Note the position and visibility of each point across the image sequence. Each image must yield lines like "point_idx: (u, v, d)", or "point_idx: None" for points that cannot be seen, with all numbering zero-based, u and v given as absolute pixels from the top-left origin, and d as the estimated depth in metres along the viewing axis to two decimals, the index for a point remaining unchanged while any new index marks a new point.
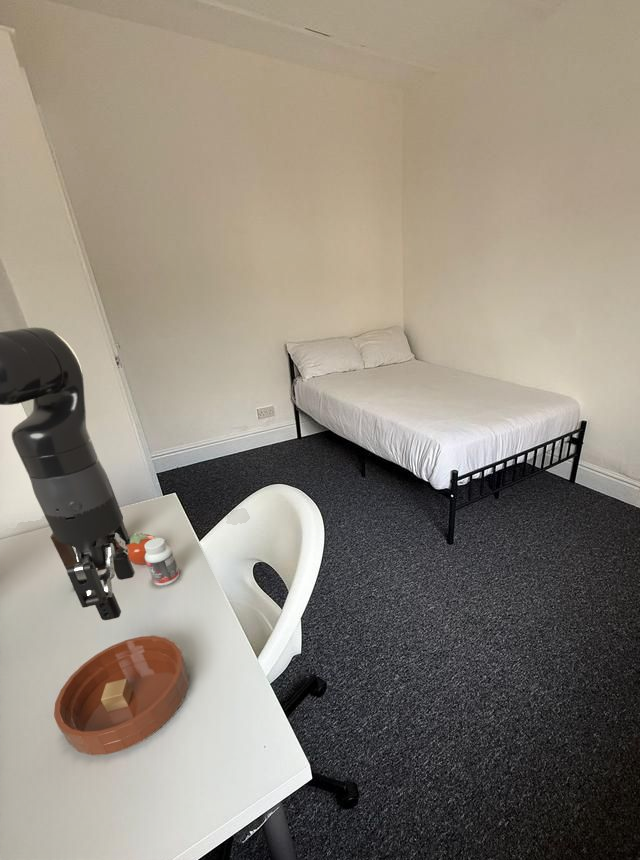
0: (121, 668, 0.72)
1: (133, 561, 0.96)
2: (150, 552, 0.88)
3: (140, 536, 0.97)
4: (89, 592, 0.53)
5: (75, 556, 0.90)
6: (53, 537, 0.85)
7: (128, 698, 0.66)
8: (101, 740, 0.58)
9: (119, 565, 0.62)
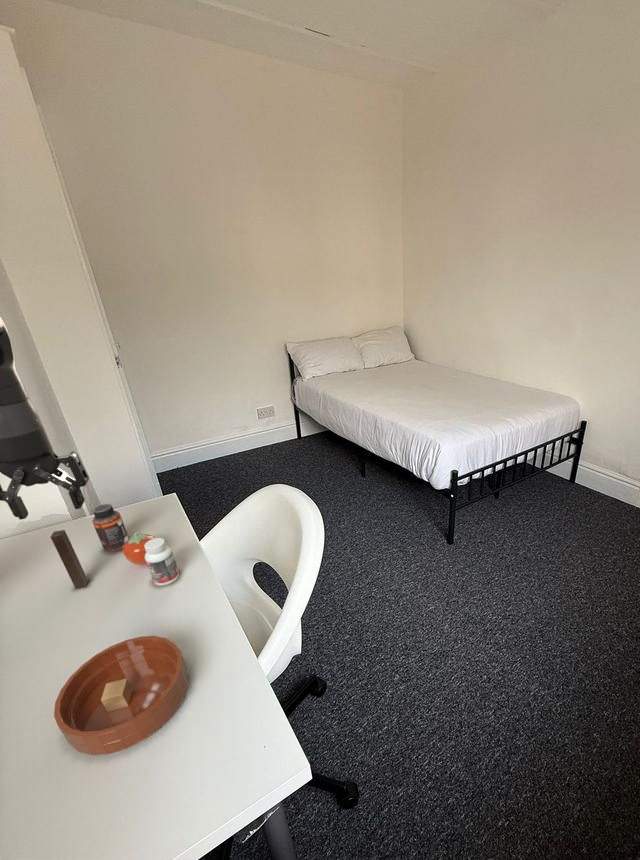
0: (121, 668, 0.72)
1: (133, 561, 0.96)
2: (150, 552, 0.88)
3: (140, 536, 0.97)
4: None
5: (75, 556, 0.90)
6: (53, 537, 0.85)
7: (128, 698, 0.66)
8: (101, 740, 0.58)
9: None
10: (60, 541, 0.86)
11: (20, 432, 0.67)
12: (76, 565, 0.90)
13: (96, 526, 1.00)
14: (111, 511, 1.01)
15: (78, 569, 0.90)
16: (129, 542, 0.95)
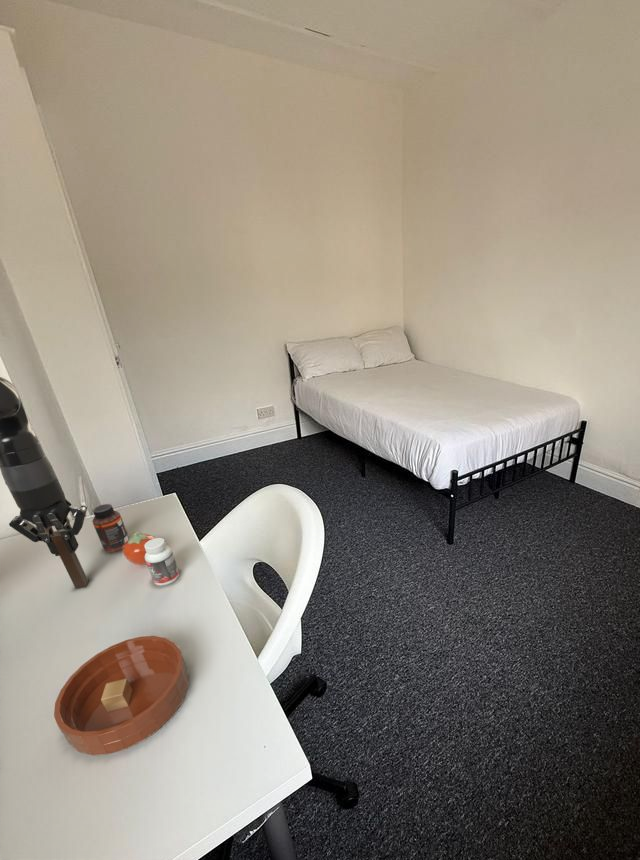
0: (121, 668, 0.72)
1: (133, 561, 0.96)
2: (150, 552, 0.88)
3: (140, 536, 0.97)
4: None
5: (75, 556, 0.90)
6: (53, 537, 0.85)
7: (128, 698, 0.66)
8: (101, 740, 0.58)
9: None
10: (60, 541, 0.86)
11: (36, 485, 0.78)
12: (76, 565, 0.90)
13: (96, 526, 1.00)
14: (111, 511, 1.01)
15: (78, 569, 0.90)
16: (129, 542, 0.95)
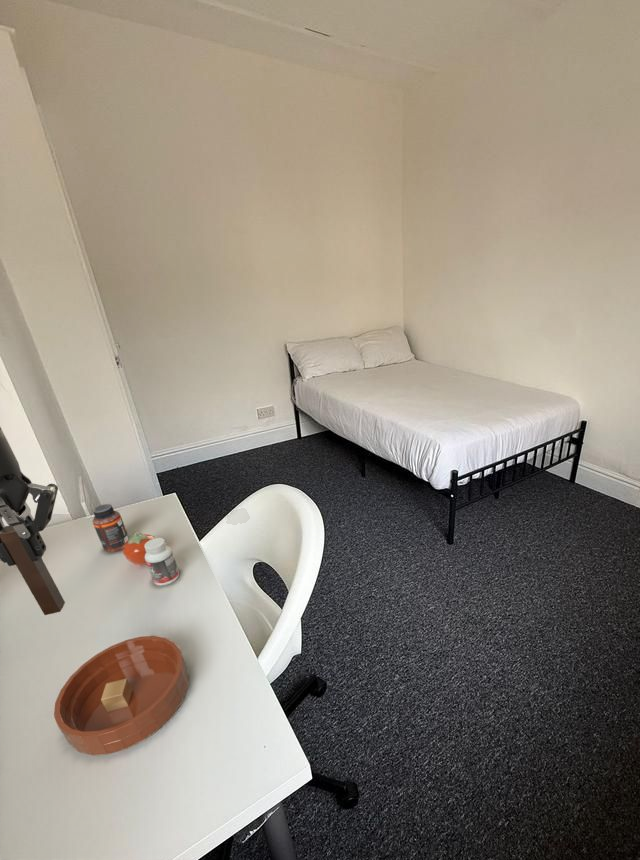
0: (121, 668, 0.72)
1: (133, 561, 0.96)
2: (150, 552, 0.88)
3: (140, 536, 0.97)
4: None
5: (42, 565, 0.57)
6: (3, 535, 0.53)
7: (128, 698, 0.66)
8: (101, 740, 0.58)
9: None
10: (15, 541, 0.54)
11: None
12: (44, 579, 0.57)
13: (96, 526, 1.00)
14: (111, 511, 1.01)
15: (47, 585, 0.57)
16: (129, 542, 0.95)
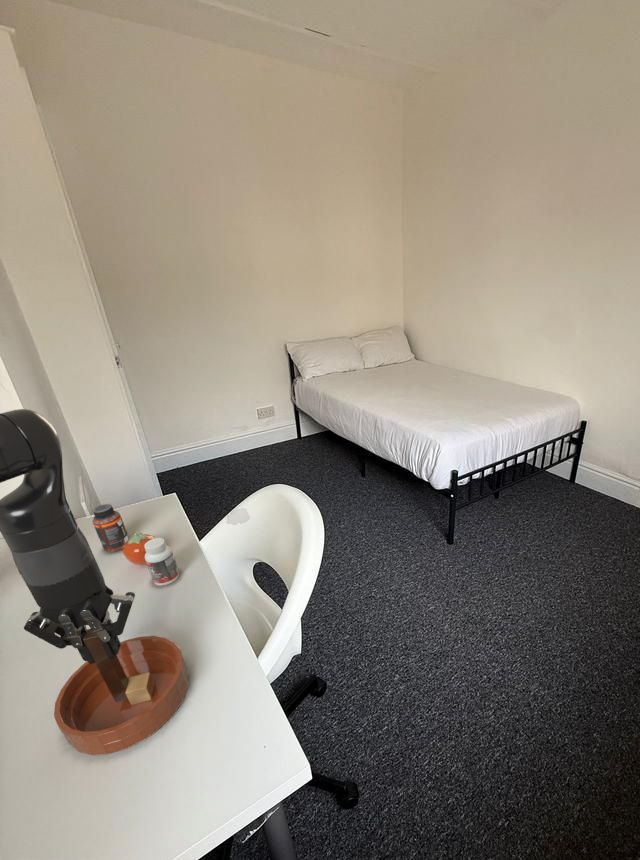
0: None
1: (133, 561, 0.96)
2: (150, 552, 0.88)
3: (140, 536, 0.97)
4: None
5: (116, 659, 0.63)
6: (87, 640, 0.59)
7: (151, 691, 0.67)
8: (101, 740, 0.58)
9: None
10: (97, 644, 0.59)
11: (66, 576, 0.52)
12: (117, 672, 0.63)
13: (96, 526, 1.00)
14: (111, 511, 1.01)
15: (120, 678, 0.63)
16: (129, 542, 0.95)
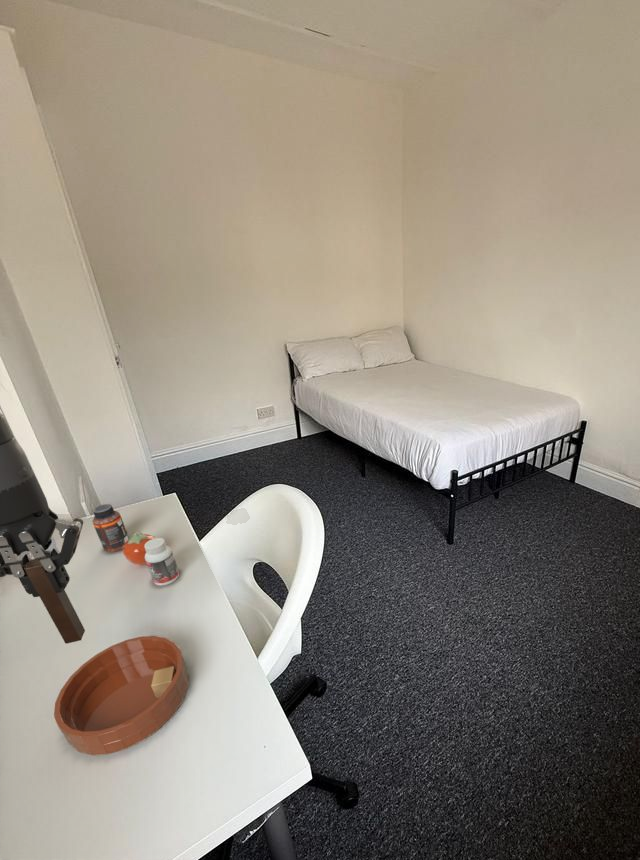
0: (121, 668, 0.72)
1: (133, 561, 0.96)
2: (150, 552, 0.88)
3: (140, 536, 0.97)
4: None
5: (65, 596, 0.58)
6: (29, 569, 0.54)
7: None
8: (101, 740, 0.58)
9: None
10: (40, 575, 0.55)
11: None
12: (66, 610, 0.58)
13: (96, 526, 1.00)
14: (111, 511, 1.01)
15: (69, 616, 0.59)
16: (129, 542, 0.95)
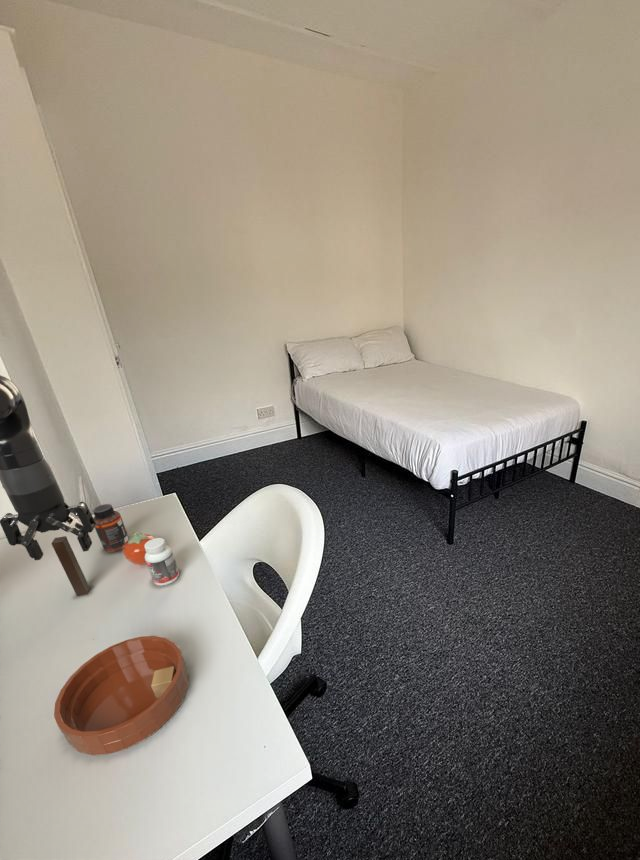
0: (121, 668, 0.72)
1: (133, 561, 0.96)
2: (150, 552, 0.88)
3: (140, 536, 0.97)
4: None
5: (76, 563, 0.88)
6: (54, 544, 0.83)
7: None
8: (101, 740, 0.58)
9: None
10: (61, 548, 0.84)
11: (34, 489, 0.76)
12: (77, 572, 0.87)
13: (96, 526, 1.00)
14: (111, 511, 1.01)
15: (79, 576, 0.88)
16: (129, 542, 0.95)
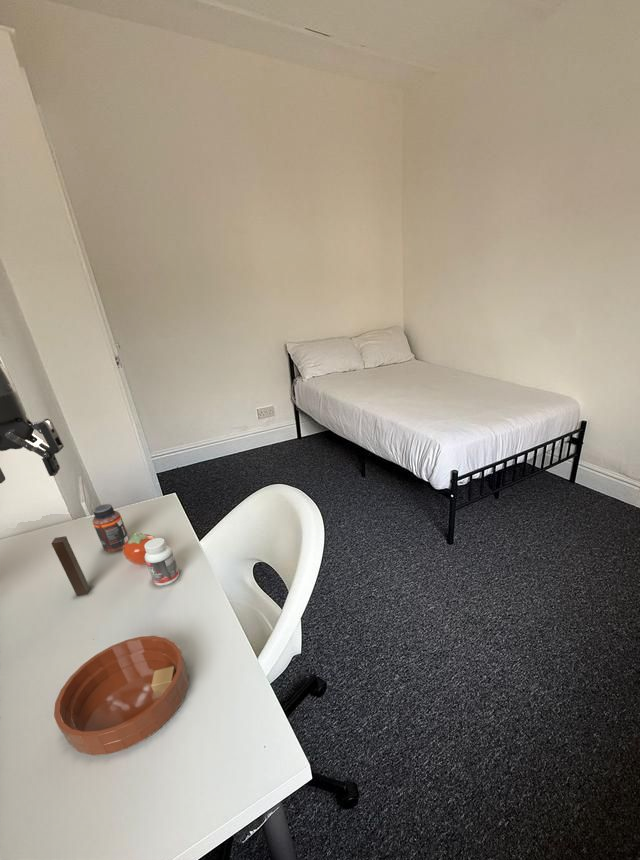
0: (121, 668, 0.72)
1: (133, 561, 0.96)
2: (150, 552, 0.88)
3: (140, 536, 0.97)
4: None
5: (76, 563, 0.88)
6: (54, 544, 0.83)
7: None
8: (101, 740, 0.58)
9: None
10: (61, 548, 0.84)
11: None
12: (77, 572, 0.87)
13: (96, 526, 1.00)
14: (111, 511, 1.01)
15: (79, 576, 0.88)
16: (129, 542, 0.95)
